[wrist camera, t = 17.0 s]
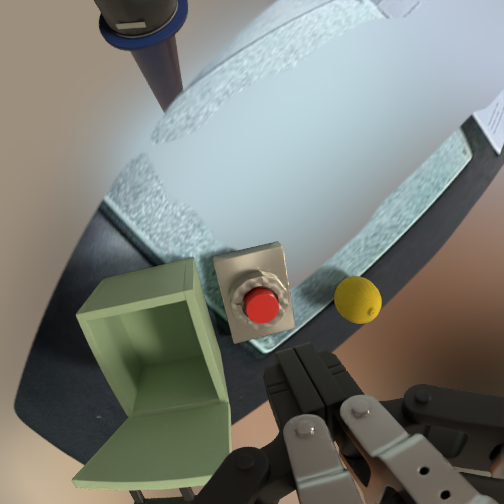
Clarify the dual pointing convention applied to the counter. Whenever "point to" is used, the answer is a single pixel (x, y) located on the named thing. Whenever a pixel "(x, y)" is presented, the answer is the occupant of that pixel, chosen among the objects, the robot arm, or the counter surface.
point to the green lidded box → (155, 340)
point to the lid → (161, 454)
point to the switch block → (253, 277)
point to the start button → (261, 305)
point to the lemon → (357, 299)
